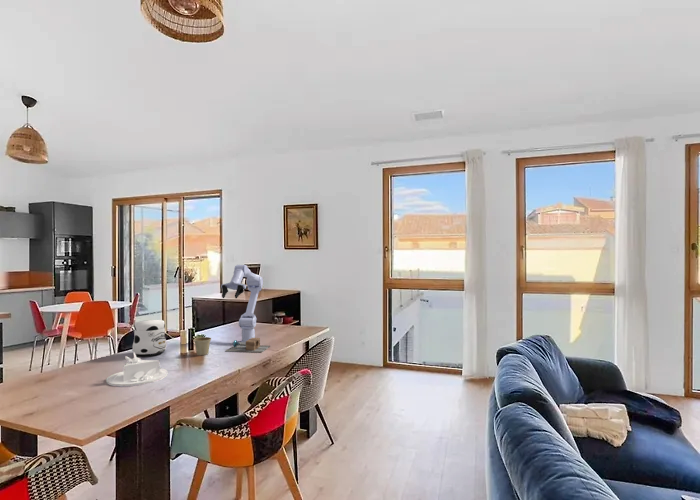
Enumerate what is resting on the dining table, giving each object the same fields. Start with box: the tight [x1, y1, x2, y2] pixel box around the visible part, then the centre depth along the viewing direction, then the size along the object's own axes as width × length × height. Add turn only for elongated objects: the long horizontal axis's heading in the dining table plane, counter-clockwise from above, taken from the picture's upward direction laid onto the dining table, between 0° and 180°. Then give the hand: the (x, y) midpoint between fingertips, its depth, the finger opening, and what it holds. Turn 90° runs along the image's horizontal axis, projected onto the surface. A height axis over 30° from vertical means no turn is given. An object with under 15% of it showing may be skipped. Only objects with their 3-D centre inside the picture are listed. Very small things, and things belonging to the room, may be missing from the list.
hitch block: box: [224, 337, 271, 354], centre depth 242 cm, size 16×22×6 cm
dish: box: [106, 351, 169, 388], centre depth 187 cm, size 25×25×11 cm
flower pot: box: [193, 336, 212, 356], centre depth 230 cm, size 9×9×9 cm
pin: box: [232, 339, 246, 347], centre depth 242 cm, size 4×12×4 cm, turn 83°
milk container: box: [132, 319, 168, 357], centre depth 230 cm, size 17×17×18 cm
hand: (229, 297), depth 232 cm, fingers open, 7 cm apart
